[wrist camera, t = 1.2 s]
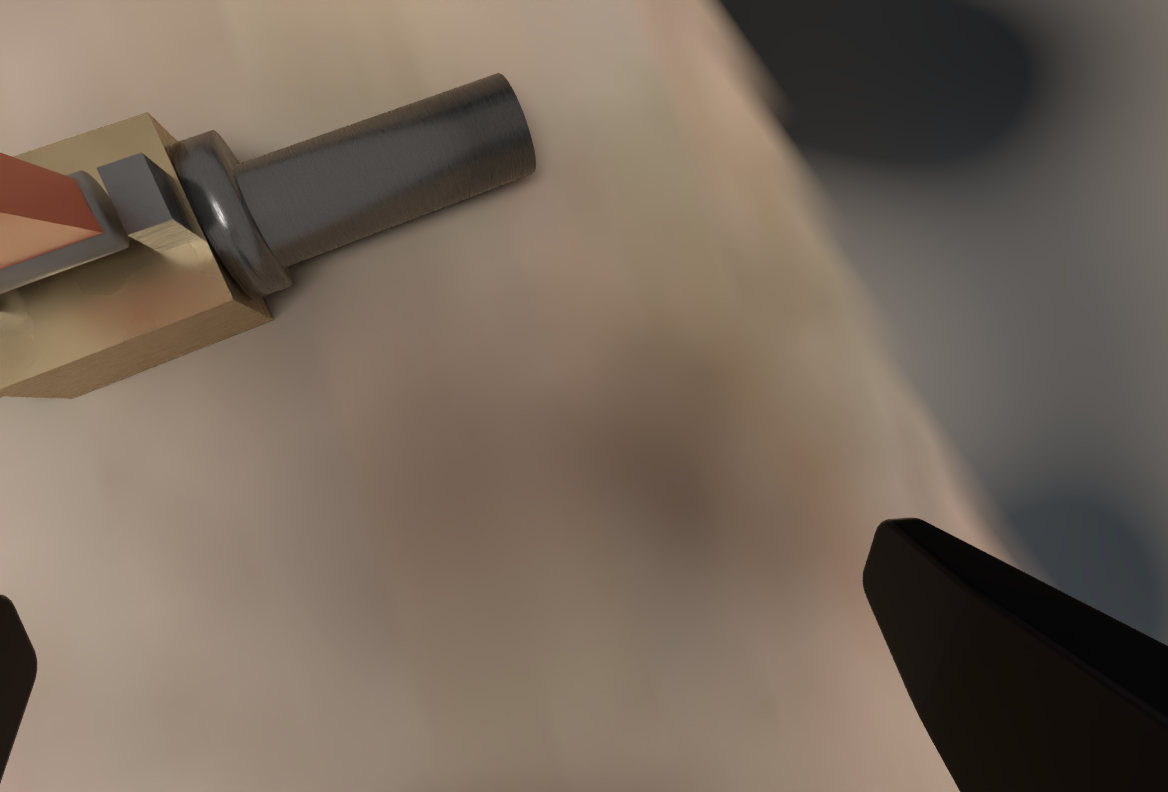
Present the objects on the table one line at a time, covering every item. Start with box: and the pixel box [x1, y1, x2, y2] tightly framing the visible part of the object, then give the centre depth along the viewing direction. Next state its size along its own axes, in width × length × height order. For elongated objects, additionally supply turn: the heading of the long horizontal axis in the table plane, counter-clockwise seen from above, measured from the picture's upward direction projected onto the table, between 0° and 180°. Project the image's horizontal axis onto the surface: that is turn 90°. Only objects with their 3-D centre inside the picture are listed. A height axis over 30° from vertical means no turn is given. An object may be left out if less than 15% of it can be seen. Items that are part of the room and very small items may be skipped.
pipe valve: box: [0, 73, 536, 399], centre depth 18 cm, size 5×24×6 cm, turn 113°
